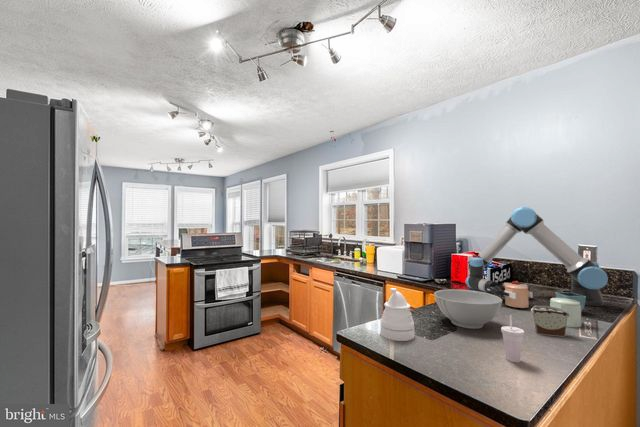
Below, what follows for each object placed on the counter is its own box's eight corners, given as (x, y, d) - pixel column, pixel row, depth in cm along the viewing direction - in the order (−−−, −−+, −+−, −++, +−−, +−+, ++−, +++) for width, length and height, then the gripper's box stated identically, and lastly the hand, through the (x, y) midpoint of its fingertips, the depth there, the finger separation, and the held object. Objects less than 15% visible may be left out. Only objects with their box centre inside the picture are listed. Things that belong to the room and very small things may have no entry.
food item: (501, 297, 180) (501, 280, 181) (504, 294, 186) (504, 278, 187) (529, 301, 171) (528, 283, 172) (530, 298, 177) (530, 281, 178)
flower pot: (573, 310, 153) (573, 292, 154) (587, 315, 145) (586, 296, 145) (555, 309, 154) (554, 291, 155) (567, 314, 146) (567, 296, 146)
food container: (563, 332, 122) (562, 307, 122) (569, 337, 116) (569, 311, 117) (527, 328, 126) (527, 304, 126) (532, 333, 120) (532, 308, 121)
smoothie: (496, 355, 100) (496, 313, 100) (515, 355, 100) (514, 312, 101) (510, 364, 93) (510, 319, 94) (530, 364, 94) (529, 318, 94)
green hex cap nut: (562, 318, 139) (561, 297, 139) (586, 326, 129) (585, 302, 130) (545, 320, 136) (545, 298, 137) (568, 328, 127) (568, 304, 127)
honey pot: (395, 343, 110) (395, 293, 110) (374, 331, 121) (374, 286, 122) (421, 337, 116) (421, 290, 116) (398, 326, 127) (398, 284, 128)
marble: (534, 312, 148) (534, 306, 148) (540, 314, 145) (540, 308, 145) (529, 313, 147) (529, 306, 148) (535, 315, 144) (535, 308, 144)
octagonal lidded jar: (515, 302, 165) (515, 283, 165) (533, 307, 155) (532, 287, 155) (500, 303, 162) (500, 284, 162) (517, 308, 152) (517, 288, 153)
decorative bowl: (424, 324, 131) (423, 296, 131) (447, 311, 150) (446, 286, 151) (493, 340, 112) (493, 308, 113) (509, 323, 132) (508, 295, 132)
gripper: (504, 292, 179) (541, 301, 157) (473, 294, 173) (506, 304, 151) (504, 279, 179) (540, 287, 158) (472, 281, 173) (505, 289, 152)
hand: (523, 295), depth 155 cm, fingers closed on octagonal lidded jar, 10 cm apart
